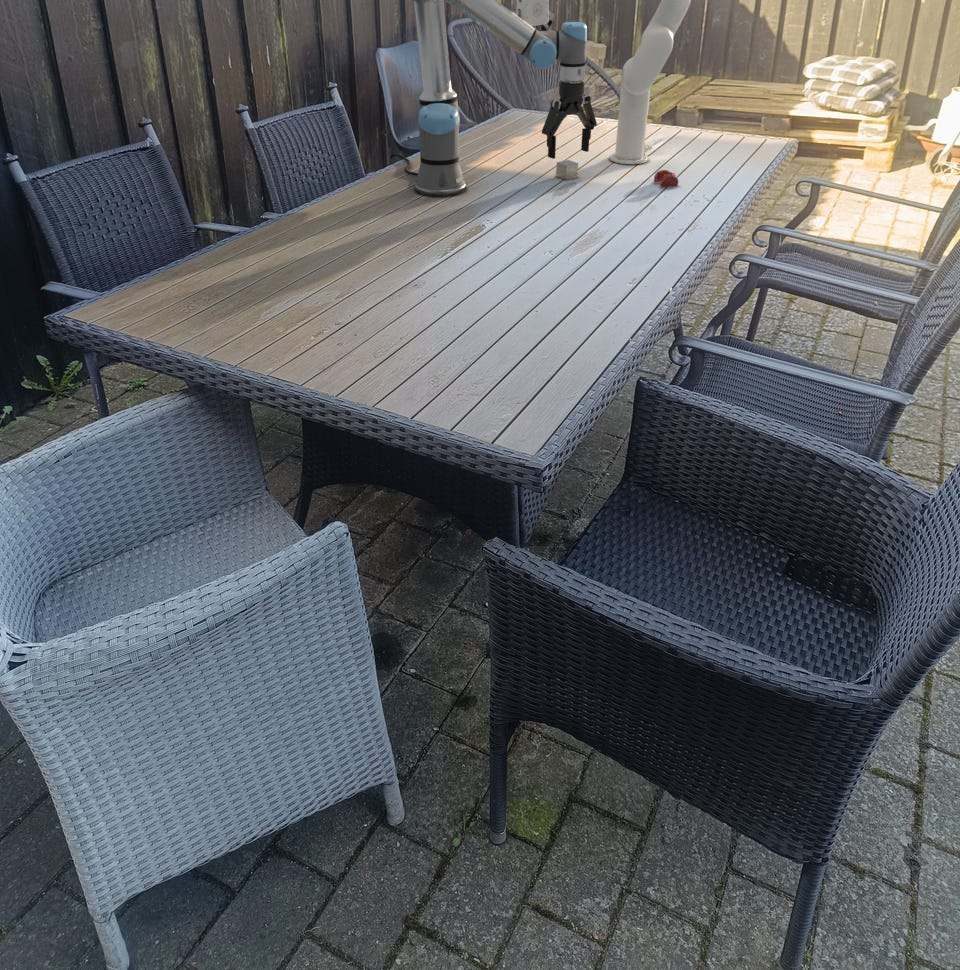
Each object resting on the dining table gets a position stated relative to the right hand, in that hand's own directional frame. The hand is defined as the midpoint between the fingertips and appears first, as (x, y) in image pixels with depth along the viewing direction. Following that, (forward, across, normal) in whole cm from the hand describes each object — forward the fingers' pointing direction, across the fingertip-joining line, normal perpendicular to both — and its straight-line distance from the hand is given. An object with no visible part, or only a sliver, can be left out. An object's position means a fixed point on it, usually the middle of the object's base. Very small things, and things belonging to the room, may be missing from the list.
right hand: (531, 45), depth 269 cm
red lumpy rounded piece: (+34, +16, -50) cm, 63 cm away
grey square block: (+34, -4, -26) cm, 43 cm away
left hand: (+27, -4, -26) cm, 38 cm away
